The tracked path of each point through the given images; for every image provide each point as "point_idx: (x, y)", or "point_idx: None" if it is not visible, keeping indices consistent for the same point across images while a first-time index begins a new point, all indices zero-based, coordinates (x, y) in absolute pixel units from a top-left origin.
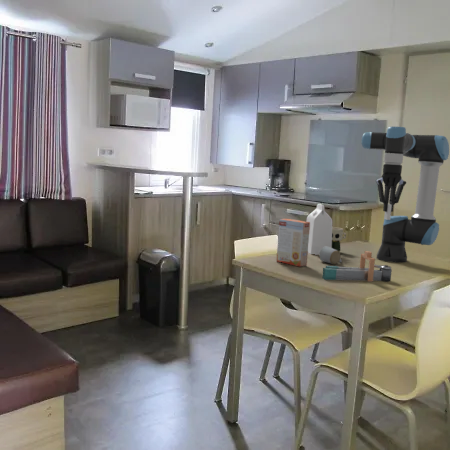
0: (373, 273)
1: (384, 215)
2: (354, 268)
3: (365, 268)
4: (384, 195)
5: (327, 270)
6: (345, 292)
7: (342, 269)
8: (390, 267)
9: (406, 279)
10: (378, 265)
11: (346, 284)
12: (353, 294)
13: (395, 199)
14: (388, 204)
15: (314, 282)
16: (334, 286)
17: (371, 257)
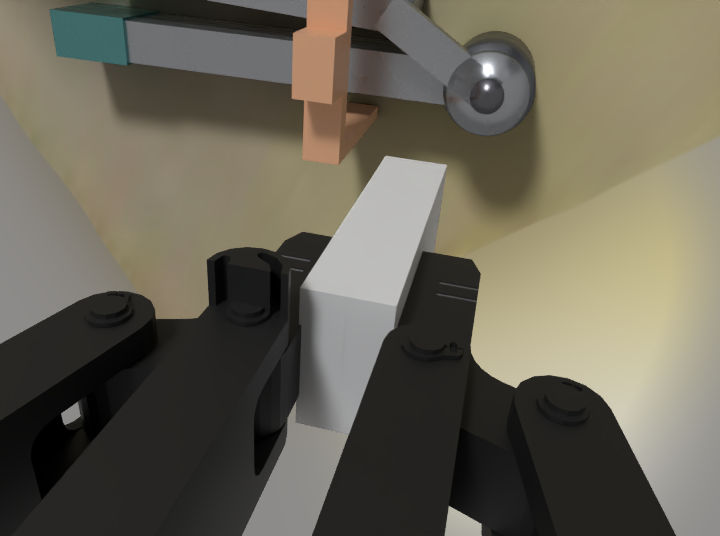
0: (364, 133)
1: (371, 179)
2: (274, 6)
3: (363, 5)
4: (93, 468)
5: (75, 57)
6: (149, 284)
7: (173, 44)
8: (510, 123)
9: (701, 53)
10: (446, 51)
11: (196, 156)
12: (175, 314)
13: (565, 484)
14: (301, 416)
15: (37, 105)
16: (123, 188)
17: (336, 108)
